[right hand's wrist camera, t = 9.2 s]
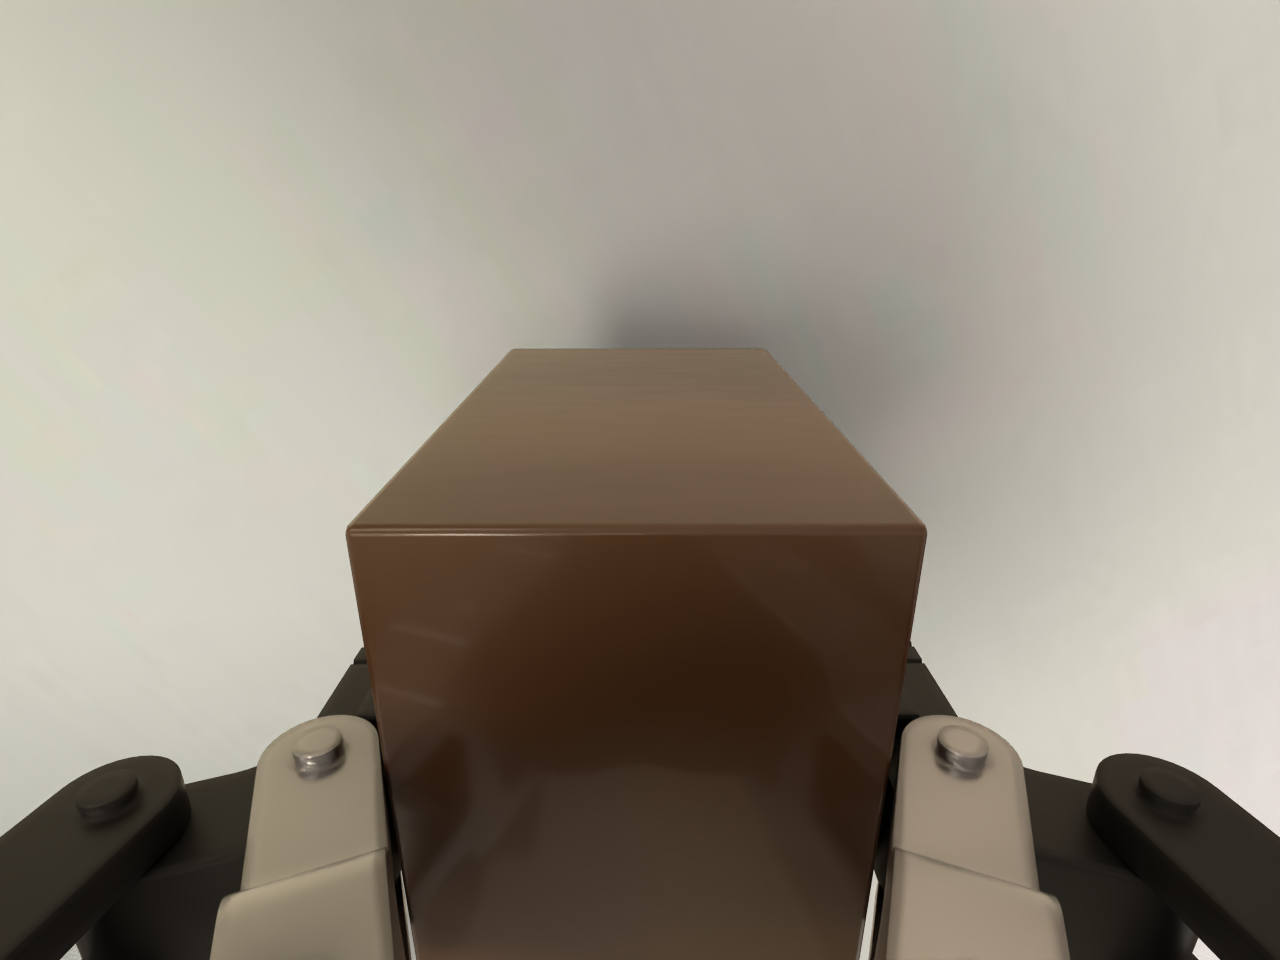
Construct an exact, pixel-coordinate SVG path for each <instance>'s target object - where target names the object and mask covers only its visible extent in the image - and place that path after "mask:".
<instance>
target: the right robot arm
mask: <svg viewBox="0 0 1280 960" xmlns="http://www.w3.org/2000/svg"><path fill="white" fill-rule="evenodd" d="M874 871H875V874H876V877H877V879H878V883H877V889H876V896H875V905H874V914H873V924H872V933H871V942H870V952H869V960H1198V959H1197V958H1196V957H1195V956H1194V955H1193V954H1192V952H1193V950H1194V947H1195V945H1196V942H1197V940H1198V937H1199V938H1200V939H1201V940H1202V941H1203V942H1204V944H1205V945H1206V946H1207V947H1208V948H1209V949H1210V950H1211V951H1212V952H1213V953H1214V954H1215V955H1216V956H1217V957H1218V958H1219V959H1220V960H1280V837H1279V836H1277V835H1276V834H1275V833H1274V832H1272V831H1271V830H1270V829H1268V828H1267V827H1266V826H1265V825H1263V824H1262V823H1261V822H1260V821H1258V820H1257V819H1256V818H1255V817H1253V816H1252V815H1251V814H1250V813H1248V812H1247V811H1246V810H1244V809H1243V808H1242V807H1241V806H1239V805H1238V804H1237V803H1236V802H1234V801H1233V800H1232V799H1231V798H1229V797H1228V796H1227V795H1225V794H1224V793H1223V792H1222V791H1220V790H1219V789H1218V788H1217V787H1215V786H1214V785H1212V784H1211V783H1210V782H1208V781H1207V780H1205V779H1204V778H1202V777H1200V776H1199V775H1197V774H1195V773H1193V772H1191V771H1189V770H1187V769H1185V768H1184V767H1181V766H1179V765H1176V764H1174V763H1172V762H1169V761H1166V760H1163V759H1160V758H1156V757H1152V756H1147V755H1141V754H1129V753H1125V754H1116V755H1112V756H1109V757H1107V758H1105V759H1103V760H1102V761H1101V762H1100V763H1099V765H1098V767H1097V769H1096V773H1095V776H1094V780H1093V783H1087V782H1083V781H1078V780H1074V779H1070V778H1065V777H1061V776H1056V775H1052V774H1048V773H1043V772H1039V771H1035V770H1032V769H1028V768H1025V767H1023V765H1022V761H1021V759H1020V757H1019V755H1018V754H1017V752H1016V751H1015V750H1014V748H1013V747H1012V746H1011V745H1010V744H1009V743H1008V742H1007V741H1006V740H1005V739H1003V738H1002V737H1001V736H1000V735H998V734H997V733H995V732H994V731H992V730H990V729H989V728H987V727H985V726H983V725H981V724H978V723H976V722H973V721H971V720H967V719H964V718H960V717H958V716H957V715H956V713H955V711H954V710H953V708H952V707H951V705H950V703H949V702H948V700H947V699H946V697H945V695H944V694H943V692H942V691H941V689H940V687H939V686H938V684H937V683H936V681H935V680H934V678H933V676H932V675H931V673H930V672H929V670H928V668H927V667H926V665H925V664H924V663H922V659H921V657H920V656H919V654H918V652H917V651H916V649H915V648H914V647H912V646H911V641H910V644H909V651H908V657H907V663H906V669H905V676H904V682H903V688H902V695H901V701H900V707H899V713H898V720H897V726H896V732H895V738H894V745H893V751H892V757H891V764H890V770H889V776H888V782H887V789H886V795H885V801H884V807H883V814H882V820H881V826H880V833H879V839H878V845H877V851H876V858H875V864H874ZM75 943H76V945H77V947H78V950H79V952H80V955H81V957H82V960H411V952H410V942H409V933H408V924H407V914H406V905H405V896H404V889H403V883H402V877H401V864H400V858H399V852H398V846H397V840H396V834H395V828H394V822H393V816H392V810H391V804H390V798H389V792H388V786H387V780H386V774H385V768H384V762H383V756H382V750H381V744H380V738H379V732H378V726H377V720H376V714H375V708H374V702H373V696H372V690H371V684H370V678H369V672H368V666H367V660H366V654H365V648H361V650H360V651H359V653H358V654H357V656H356V657H355V659H354V664H351V665H350V667H349V668H348V670H347V672H346V673H345V675H344V676H343V678H342V679H341V681H340V683H339V684H338V686H337V687H336V689H335V690H334V692H333V694H332V695H331V697H330V698H329V700H328V701H327V703H326V704H325V706H324V708H323V709H322V711H321V712H320V714H319V715H318V717H317V718H316V719H313V720H309V721H307V722H304V723H302V724H299V725H297V726H295V727H293V728H291V729H290V730H288V731H286V732H285V733H283V734H282V735H280V736H279V737H278V738H277V739H275V740H274V741H273V742H272V743H271V744H270V745H269V746H268V747H267V748H266V750H265V751H264V752H263V754H262V755H261V757H260V759H259V761H258V765H257V766H256V767H253V768H251V769H248V770H244V771H241V772H237V773H233V774H228V775H224V776H220V777H215V778H211V779H207V780H202V781H198V782H193V783H189V784H184V780H183V777H182V774H181V771H180V768H179V766H178V765H177V764H176V763H175V762H174V761H172V760H170V759H168V758H164V757H161V756H138V757H131V758H127V759H123V760H118V761H115V762H112V763H109V764H106V765H104V766H101V767H99V768H97V769H94V770H92V771H90V772H88V773H86V774H84V775H82V776H81V777H79V778H77V779H76V780H74V781H72V782H71V783H69V784H68V785H66V786H65V787H64V788H62V789H61V790H60V791H58V792H57V793H56V794H55V795H53V796H52V797H51V798H49V799H48V800H47V801H46V802H44V803H43V804H42V805H41V806H39V807H38V808H37V809H36V810H34V811H33V812H32V813H30V814H29V815H28V816H27V817H25V818H24V819H23V820H22V821H20V822H19V823H18V824H17V825H15V826H14V827H13V828H11V829H10V830H9V831H8V832H6V833H5V834H4V835H3V836H1V837H0V960H60V959H61V958H62V957H63V956H64V955H65V954H66V953H67V952H68V951H69V950H70V949H71V948H72V947H73V946H74V945H75Z"/></svg>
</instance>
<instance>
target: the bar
mask: <svg viewBox="0 0 1280 960" xmlns="http://www.w3.org/2000/svg"><path fill="white" fill-rule="evenodd" d="M926 538H927V529H926V526H925V524H924V523H923V522H922V521H921V520H920V519H919V518H918V517H917V516H916V514H915V513H914V512H913V511H912V510H911V509H910V508H909V507H908V506H907V505H906V503H905V502H904V501H903V500H902V499H901V498H900V497H899V496H898V495H897V494H896V492H895V491H894V490H893V489H892V488H891V487H890V486H889V485H888V484H887V483H886V481H885V480H884V479H883V478H882V477H881V476H880V475H879V474H878V473H877V472H876V470H875V469H874V468H873V467H872V466H871V465H870V464H869V463H868V462H867V461H866V459H865V458H864V457H863V456H862V455H861V454H860V453H859V452H858V451H857V450H856V448H855V447H854V446H853V445H852V444H851V443H850V442H849V441H848V440H847V439H846V437H845V436H844V435H843V434H842V433H841V432H840V431H839V430H838V429H837V428H836V426H835V425H834V424H833V423H832V422H831V421H830V420H829V419H828V418H827V417H826V415H825V414H824V413H823V412H822V411H821V410H820V409H819V408H818V407H817V406H816V404H815V403H814V402H813V401H812V400H811V399H810V398H809V397H808V396H807V395H806V394H805V392H804V391H803V390H802V389H801V388H800V387H799V386H798V385H797V384H796V383H795V381H794V380H793V379H792V378H791V377H790V376H789V375H788V374H787V373H786V372H785V370H784V369H783V368H782V367H781V366H780V365H779V364H778V363H777V362H776V361H775V359H774V358H773V357H772V356H771V355H770V354H769V353H768V352H767V351H766V350H765V349H763V348H691V349H512V350H511V351H510V352H509V353H508V354H507V355H506V356H505V357H504V358H503V359H502V360H501V361H500V362H499V363H498V365H497V366H496V367H495V368H494V369H493V370H492V371H491V372H490V373H489V374H488V375H487V376H486V377H485V379H484V380H483V381H482V382H481V383H480V384H479V385H478V386H477V387H476V388H475V389H474V390H473V391H472V393H471V394H470V395H469V396H468V397H467V398H466V399H465V400H464V401H463V402H462V403H461V404H460V405H459V407H458V408H457V409H456V410H455V411H454V412H453V413H452V414H451V415H450V416H449V417H448V418H447V419H446V421H445V422H444V423H443V424H442V425H441V426H440V427H439V428H438V429H437V430H436V431H435V432H434V433H433V435H432V436H431V437H430V438H429V439H428V440H427V441H426V442H425V443H424V444H423V445H422V446H421V447H420V448H419V450H418V451H417V452H416V453H415V454H414V455H413V456H412V457H411V458H410V459H409V460H408V461H407V462H406V464H405V465H404V466H403V467H402V468H401V469H400V470H399V471H398V472H397V473H396V474H395V475H394V476H393V478H392V479H391V480H390V481H389V482H388V483H387V484H386V485H385V486H384V487H383V488H382V489H381V490H380V492H379V493H378V494H377V495H376V496H375V497H374V498H373V499H372V500H371V501H370V502H369V503H368V504H367V506H366V507H365V508H364V509H363V510H362V511H361V512H360V513H359V514H358V515H357V516H356V517H355V518H354V520H353V521H352V522H351V523H350V524H349V525H348V526H347V529H346V541H347V547H348V552H349V558H350V564H351V570H352V576H353V582H354V588H355V594H356V600H357V606H358V612H359V618H360V624H361V630H362V636H363V642H364V648H365V654H366V660H367V666H368V672H369V678H370V684H371V690H372V696H373V702H374V708H375V714H376V720H377V726H378V732H379V738H380V744H381V750H382V756H383V762H384V768H385V774H386V780H387V786H388V792H389V798H390V804H391V810H392V816H393V822H394V828H395V834H396V840H397V846H398V852H399V858H400V864H401V870H402V876H403V882H404V888H405V894H406V899H407V905H408V911H409V917H410V923H411V929H412V935H413V941H414V947H415V953H416V959H417V960H859V958H860V952H861V945H862V939H863V933H864V927H865V920H866V914H867V908H868V902H869V895H870V889H871V883H872V876H873V870H874V864H875V858H876V851H877V845H878V839H879V833H880V826H881V820H882V814H883V807H884V801H885V795H886V789H887V782H888V776H889V770H890V764H891V757H892V751H893V745H894V738H895V732H896V726H897V720H898V713H899V707H900V701H901V695H902V688H903V682H904V676H905V669H906V663H907V657H908V651H909V644H910V638H911V632H912V626H913V619H914V613H915V607H916V600H917V594H918V588H919V582H920V575H921V569H922V563H923V557H924V550H925V544H926Z"/></svg>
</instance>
